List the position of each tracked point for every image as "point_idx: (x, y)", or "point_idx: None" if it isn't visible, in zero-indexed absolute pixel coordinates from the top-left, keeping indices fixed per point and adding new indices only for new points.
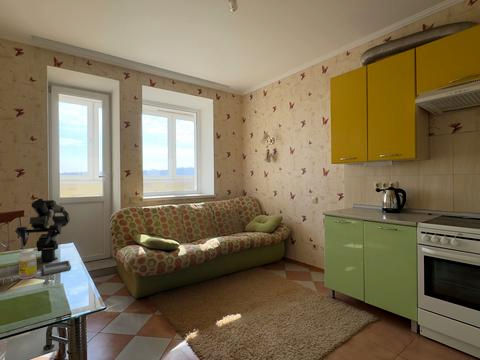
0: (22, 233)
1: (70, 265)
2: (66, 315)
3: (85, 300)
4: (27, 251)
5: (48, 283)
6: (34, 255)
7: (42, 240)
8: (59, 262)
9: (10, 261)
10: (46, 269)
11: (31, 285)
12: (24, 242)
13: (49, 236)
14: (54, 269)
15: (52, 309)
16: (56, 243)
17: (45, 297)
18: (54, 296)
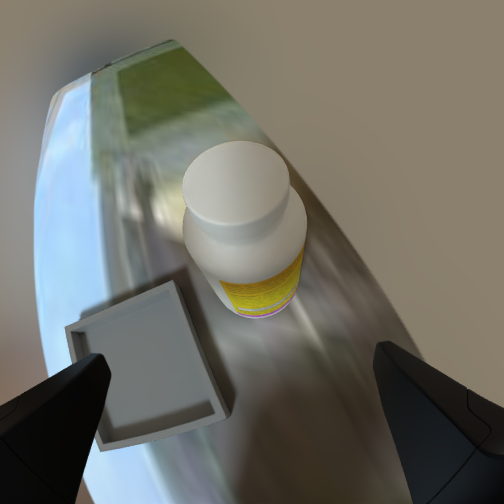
0: None
1: (67, 338)
2: (98, 69)
3: (65, 103)
4: (218, 153)
5: (135, 181)
6: (187, 217)
7: None
8: (139, 436)
9: None
10: (193, 368)
11: None
12: (394, 364)
13: (9, 408)
14: (127, 300)
15: (116, 76)
16: None
17: (131, 105)
18: (113, 110)
